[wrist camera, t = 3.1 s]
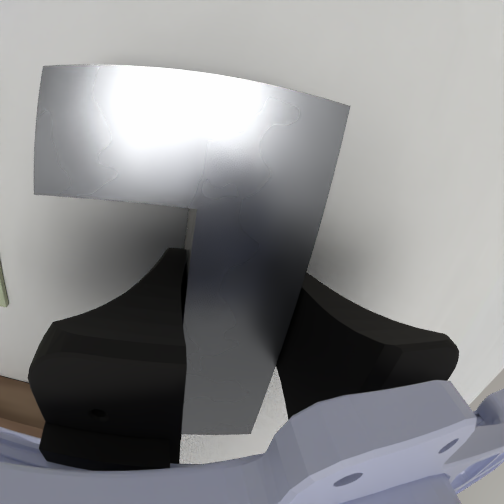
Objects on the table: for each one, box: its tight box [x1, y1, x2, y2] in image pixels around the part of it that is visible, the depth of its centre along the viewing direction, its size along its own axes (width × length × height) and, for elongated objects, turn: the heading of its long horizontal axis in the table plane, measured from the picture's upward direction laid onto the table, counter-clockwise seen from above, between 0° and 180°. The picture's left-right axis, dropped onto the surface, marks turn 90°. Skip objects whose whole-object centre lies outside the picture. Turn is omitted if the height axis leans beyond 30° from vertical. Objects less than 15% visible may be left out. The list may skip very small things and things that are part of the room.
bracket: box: [34, 65, 350, 435], centre depth 10 cm, size 12×7×4 cm, turn 168°
